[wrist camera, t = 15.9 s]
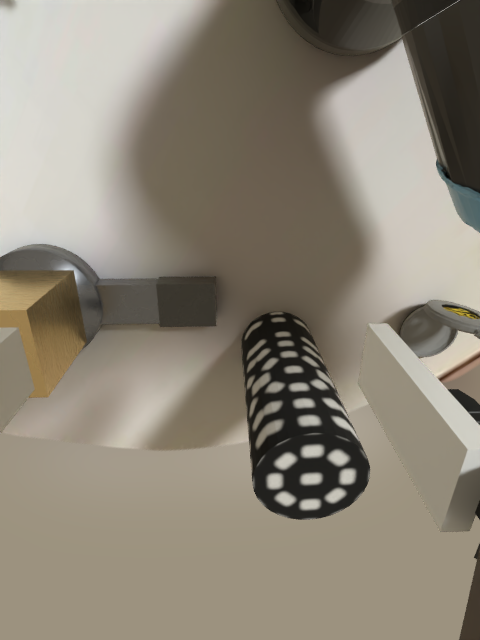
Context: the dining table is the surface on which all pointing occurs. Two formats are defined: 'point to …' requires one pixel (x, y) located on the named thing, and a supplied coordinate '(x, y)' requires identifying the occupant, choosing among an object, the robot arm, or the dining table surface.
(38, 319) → the golden tan block
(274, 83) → the dining table surface
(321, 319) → the dining table surface
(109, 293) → the grey handled disc
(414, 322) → the pocket watch
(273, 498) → the white-spotted black cylinder
